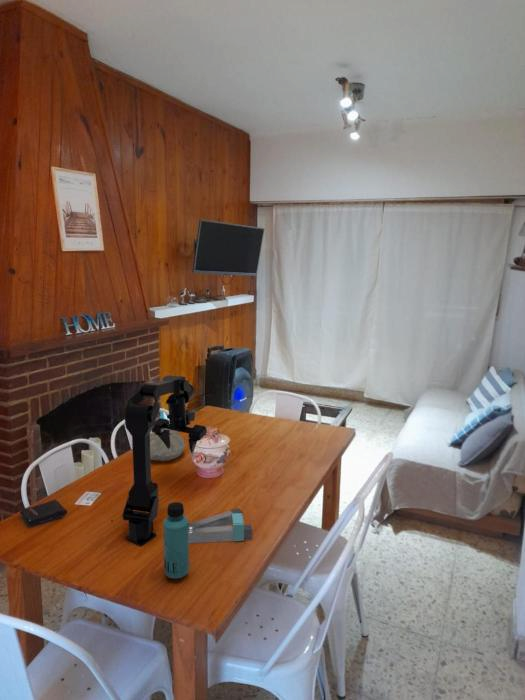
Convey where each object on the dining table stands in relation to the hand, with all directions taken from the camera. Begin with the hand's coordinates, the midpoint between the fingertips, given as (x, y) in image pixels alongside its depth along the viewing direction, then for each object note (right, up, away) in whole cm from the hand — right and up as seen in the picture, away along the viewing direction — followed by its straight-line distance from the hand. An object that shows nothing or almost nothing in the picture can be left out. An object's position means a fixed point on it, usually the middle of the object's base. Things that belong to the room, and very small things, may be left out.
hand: (180, 450), depth 165 cm
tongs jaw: (+14, -19, -21) cm, 32 cm away
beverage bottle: (+6, -23, -43) cm, 50 cm away
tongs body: (+15, -20, -26) cm, 36 cm away
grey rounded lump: (-12, -9, +28) cm, 32 cm away
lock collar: (+21, -20, -25) cm, 38 cm away
